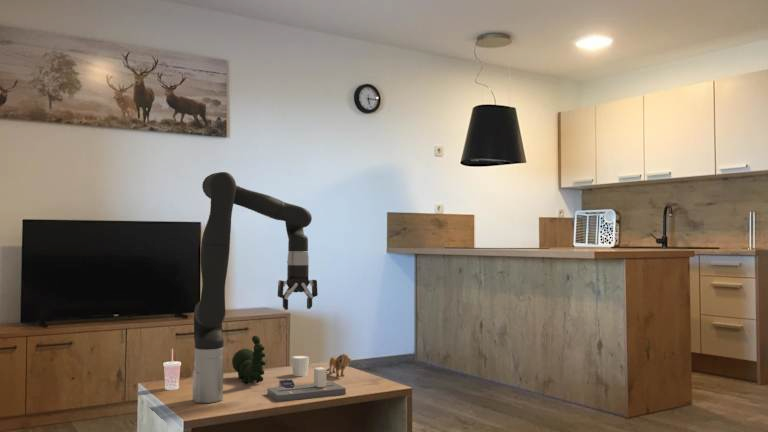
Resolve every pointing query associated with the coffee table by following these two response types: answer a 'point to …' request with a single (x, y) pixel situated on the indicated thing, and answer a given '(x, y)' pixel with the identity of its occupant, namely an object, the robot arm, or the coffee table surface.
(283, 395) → the console
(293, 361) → the white cup
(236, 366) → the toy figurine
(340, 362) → the lion figurine
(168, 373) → the beverage cup
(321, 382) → the cylinder
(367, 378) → the coffee table surface
